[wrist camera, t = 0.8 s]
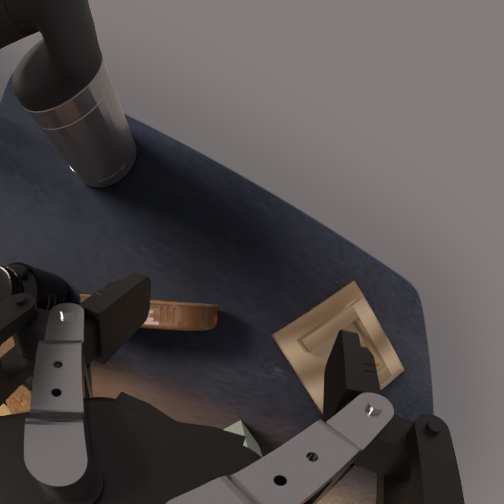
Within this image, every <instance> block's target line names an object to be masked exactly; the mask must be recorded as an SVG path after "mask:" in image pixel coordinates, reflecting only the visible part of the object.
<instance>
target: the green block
mask: <svg viewBox="0 0 504 504" xmlns="http://www.w3.org/2000/svg"><path fill="white" fill-rule="evenodd" d="M224 430H225V431H229V432H232V433H236V434H239V435H243V436H246V438H245V441H244V444H243V445H244V446H246V447H248V448H250V449H251V450H253V451H255V452H256V453H257V454H259V455H260V456H261V457H263V456H262V453H261V450H260V447H259V445H258V443H257V442H256V440H255V439H254V438H253V436H252V435H251V434H250V432H249V431H248V429H247V428H246V427H245V425H244V424H243V422H242V421H241V420H240V421H238V422H236V423H235V424H233V425H231V426H229V427H227V428H225V429H224Z"/></svg>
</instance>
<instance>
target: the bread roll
mask: <svg viewBox="0 0 504 504" xmlns="http://www.w3.org/2000/svg"><path fill="white" fill-rule="evenodd" d="M32 382H33V375H31V376H30V377H29V378H28V379H27V380H26V381H25V382H24V383H23V384H22V385H21V386H20V387H19V388H18V389H17V390H16V391H15V392H14V393H13V394H12V395H11V396H10V397H9V398H8V399H7V400H6V401H5V402H4V404H5V405H6V406H7V407H8V409H9V410H10V412H11V413H12V414H17V413H22V412H27V411H30V402H31V391H32Z"/></svg>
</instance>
